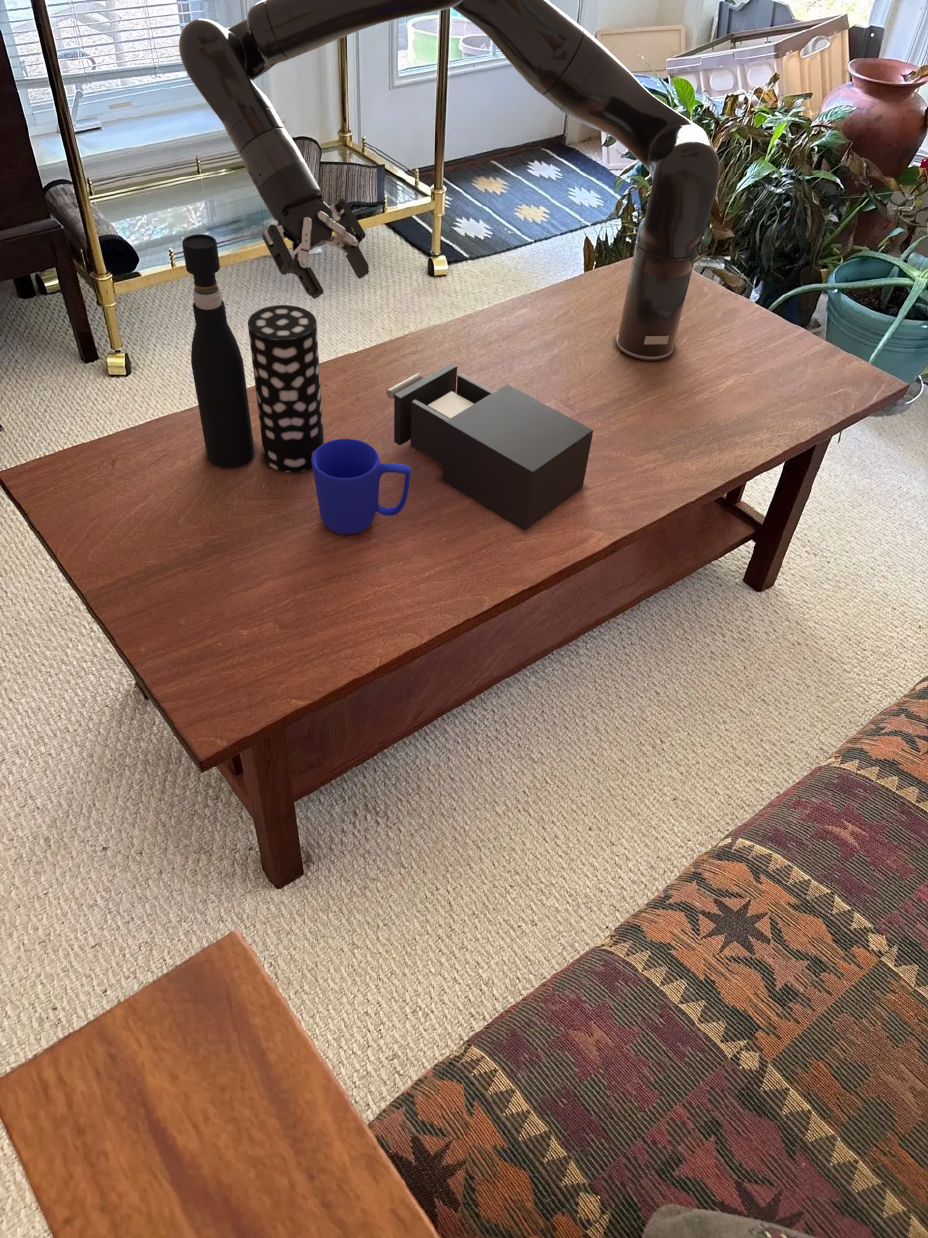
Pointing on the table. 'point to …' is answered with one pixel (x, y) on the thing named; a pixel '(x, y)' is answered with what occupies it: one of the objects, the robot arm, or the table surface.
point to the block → (450, 405)
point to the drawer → (419, 418)
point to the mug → (352, 484)
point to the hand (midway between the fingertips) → (342, 285)
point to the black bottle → (217, 362)
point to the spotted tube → (287, 385)
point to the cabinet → (515, 455)
